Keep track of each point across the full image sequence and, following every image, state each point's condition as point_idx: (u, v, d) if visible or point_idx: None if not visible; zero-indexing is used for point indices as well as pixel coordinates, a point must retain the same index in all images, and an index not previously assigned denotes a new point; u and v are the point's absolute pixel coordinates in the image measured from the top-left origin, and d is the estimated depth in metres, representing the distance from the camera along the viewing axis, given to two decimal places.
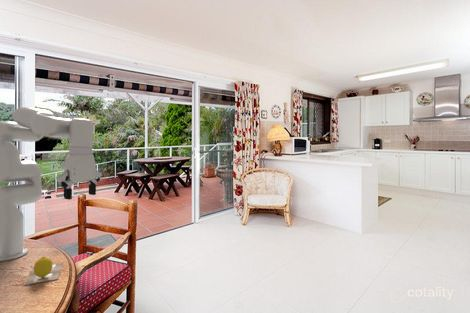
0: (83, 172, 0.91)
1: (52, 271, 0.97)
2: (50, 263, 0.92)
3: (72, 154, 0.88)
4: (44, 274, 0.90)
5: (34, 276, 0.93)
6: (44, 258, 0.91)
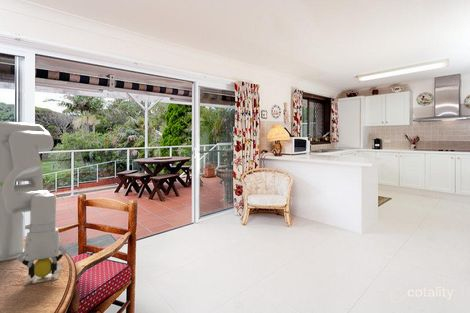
0: None
1: None
2: (50, 263, 0.92)
3: (55, 227, 0.93)
4: (44, 274, 0.90)
5: (34, 276, 0.93)
6: None
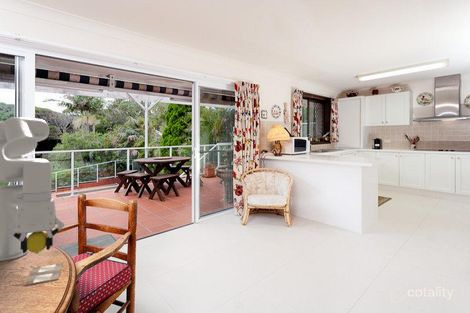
0: None
1: (52, 271, 0.97)
2: (45, 238, 0.83)
3: None
4: (38, 249, 0.81)
5: (34, 276, 0.93)
6: (38, 232, 0.82)
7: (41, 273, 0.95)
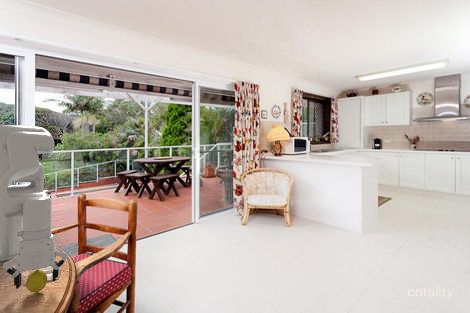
0: None
1: (52, 271, 0.97)
2: (45, 277, 0.83)
3: (51, 234, 0.84)
4: (38, 289, 0.81)
5: None
6: (38, 272, 0.82)
7: None
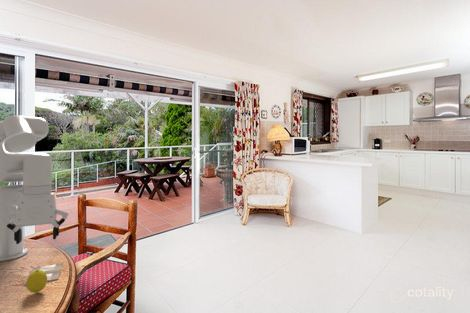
0: None
1: (52, 271, 0.97)
2: (45, 277, 0.83)
3: (51, 192, 0.84)
4: (38, 289, 0.81)
5: None
6: (38, 272, 0.82)
7: None
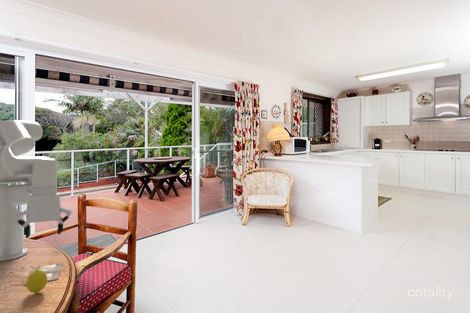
0: None
1: (52, 271, 0.97)
2: (45, 277, 0.83)
3: (56, 192, 0.95)
4: (38, 289, 0.81)
5: None
6: (38, 272, 0.82)
7: None
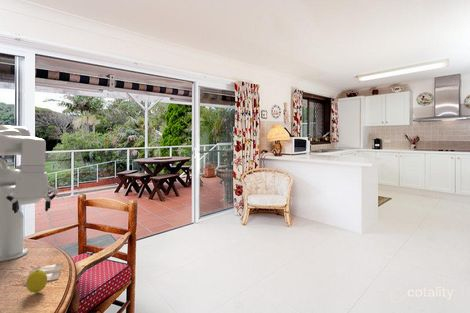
0: None
1: (52, 271, 0.97)
2: (45, 277, 0.83)
3: (44, 171, 0.99)
4: (38, 289, 0.81)
5: None
6: (38, 272, 0.82)
7: None
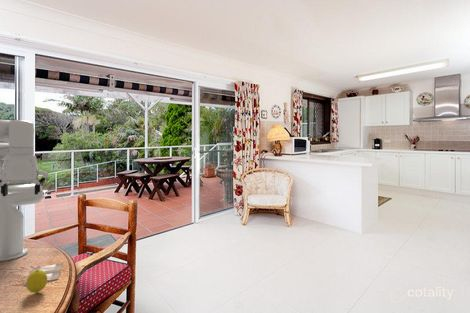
0: None
1: (52, 271, 0.97)
2: (45, 277, 0.83)
3: (33, 154, 0.98)
4: (38, 289, 0.81)
5: None
6: (38, 272, 0.82)
7: None
